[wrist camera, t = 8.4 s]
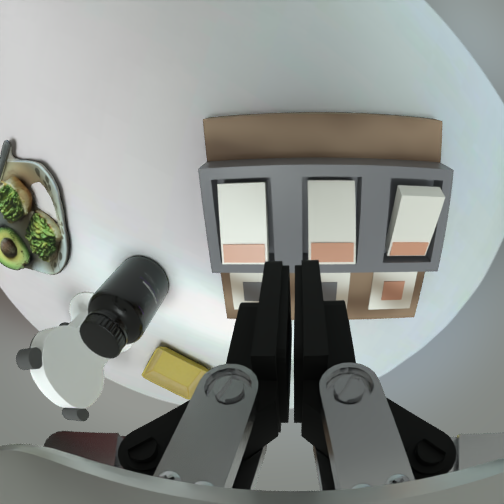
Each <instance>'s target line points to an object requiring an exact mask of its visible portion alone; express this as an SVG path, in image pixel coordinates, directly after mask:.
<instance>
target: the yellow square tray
mask: <svg viewBox="0 0 504 504" xmlns="http://www.w3.org/2000/svg"><path fill="white" fill-rule="evenodd" d="M208 371H209V370H208V369H207V368H206V367H204V366H203V365H201V364H199V363H197V362H195V361H193V360H191V359H189V358H187V357H185V356H183V355H181V354H179V353H177V352H175V351H173V350H171V349H169V348H167V347H157V348H156V350H155V351H154V353H153V355H152V357H151V359H150V360H149V362H148V364H147V366H146V368H145V369H144V371H143V373H142V376H143V377H144V378H145V379H147V380H149V381H151V382H153V383H155V384H157V385H159V386H161V387H163V388H165V389H167V390H169V391H171V392H173V393H175V394H177V395H179V396H181V397H183V398H186V399H191V397H192V395H193V393H194V391H195V389H196V387H197V385H198V383H199V381H200V379H201V378H202V377H203V375H204V374H205V373H206V372H208Z"/></svg>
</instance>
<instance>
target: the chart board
mask: <svg viewBox="0 0 504 504" xmlns="http://www.w3.org/2000/svg"><path fill="white" fill-rule="evenodd" d="M203 126H204V136H205V146H206V155H207V162H210V161H225V160H243V159H267V158H373V159H396V160H414V161H428V162H440V160H441V144H442V121H440V120H436V119H429V118H420V117H410V116H399V115H385V114H368V113H340V112H293V113H265V114H247V115H233V116H221V117H211V118H206V119H203ZM424 273H425V272H368V273H320V275H321V283H322V292H323V301H334V300H344V301H345V304H346V309H347V314H348V319H381V318H405V317H414V316H415V312H416V308H417V304H418V300H419V296H420V291H421V287H422V283H423V278H424ZM262 277H263V273H221V278H222V285H223V292H224V299H225V306H226V313H227V318H229V319H236V318H237V313H238V309H239V305H240V303H241V302H259V297H260V290H261V284H262ZM290 294H291V320H294V312H295V273H290Z"/></svg>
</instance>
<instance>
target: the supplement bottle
mask: <svg viewBox="0 0 504 504" xmlns="http://www.w3.org/2000/svg"><path fill="white" fill-rule="evenodd" d="M167 292H168V280H167V277H166V275H165V273H164V271H163V270H162V268H161V267H160V266H159V265H158V264H157V263H155V262H154V261H152V260H150V259H148V258H145V257H141V256H135V257H131V258H128V259H126V260H125V261H124V262H123V263H122V264H121V265H120V266H119V267H118V268H117V269H116V270H115V271H114V272H113V273H112V274H111V276H110V277H109V278H108V279H107V280H106V281H105V282H104V283H103V284H102V285H101V287H100V288H99V289H98V290H97V291H96V292H95V293H94V294H93V296H92V297H91V298H90V300H89V303H88V315H87V317H86V318H85V320H84V321H83V323H82V324H81V325H80V328H79V329H80V331H79V332H80V336H81V339H82V340H83V342H84V343H85V345H86V346H87V347H88V348H89V349H90V350H91V351H92V352H94V353H95V354H97V355H99V356H102V357H105V358H114V357H117V356H118V355H119V354H120V352H121V350H122V349H123V348H124V347H125V345H128V344H132V343H134V342H136V341H138V340H139V339H140V338H141V336H142V335H143V333H144V332H145V330H146V328H147V327H148V325H149V323H150V322H151V320H152V318H153V317H154V315H155V313H156V312H157V310H158V308H159V307H160V305H161V303H162V302H163V300H164V298H165V297H166V295H167Z"/></svg>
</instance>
